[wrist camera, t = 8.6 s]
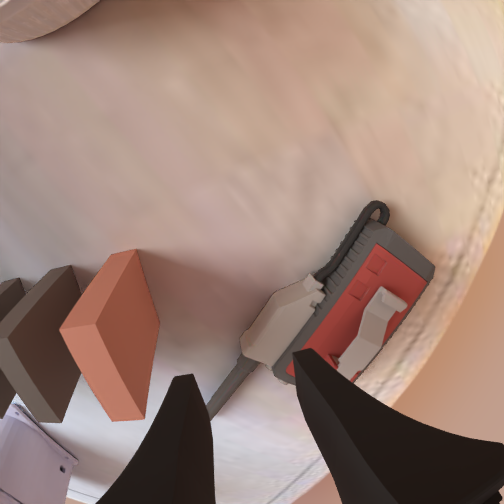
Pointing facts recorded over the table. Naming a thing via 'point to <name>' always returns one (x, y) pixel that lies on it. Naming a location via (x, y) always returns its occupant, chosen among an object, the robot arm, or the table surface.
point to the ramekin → (37, 17)
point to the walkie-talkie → (336, 307)
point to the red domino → (115, 336)
